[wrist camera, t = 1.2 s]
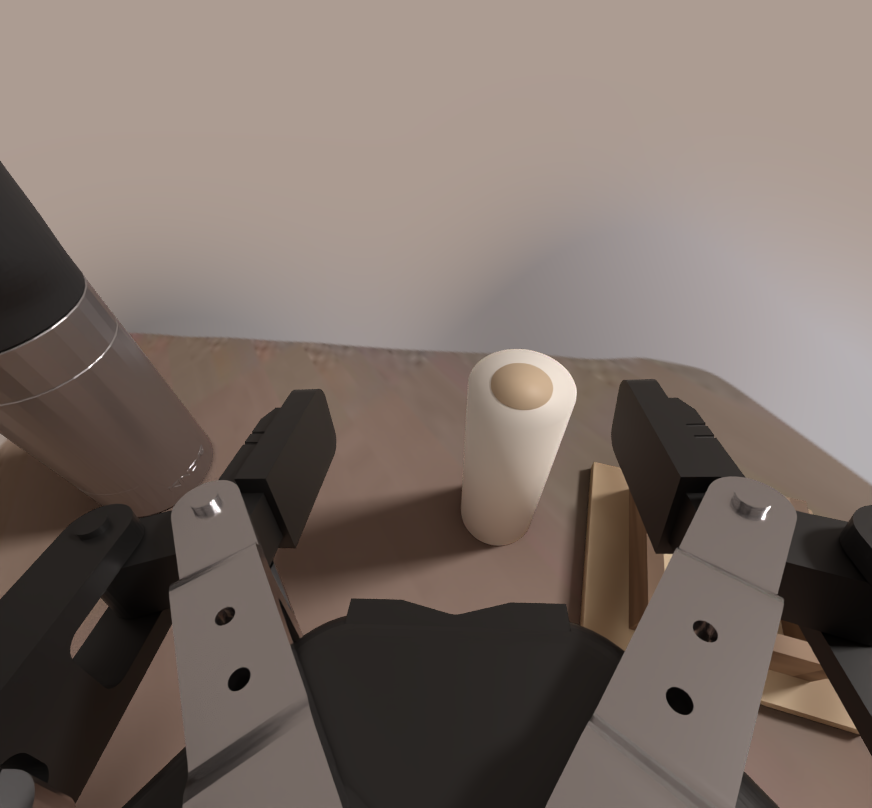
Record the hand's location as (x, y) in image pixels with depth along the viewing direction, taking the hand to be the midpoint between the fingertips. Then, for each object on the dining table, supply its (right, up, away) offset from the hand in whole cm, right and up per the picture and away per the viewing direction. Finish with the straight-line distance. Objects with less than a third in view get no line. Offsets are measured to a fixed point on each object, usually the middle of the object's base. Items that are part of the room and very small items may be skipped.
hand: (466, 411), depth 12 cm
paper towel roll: (+4, -8, +22) cm, 24 cm away
